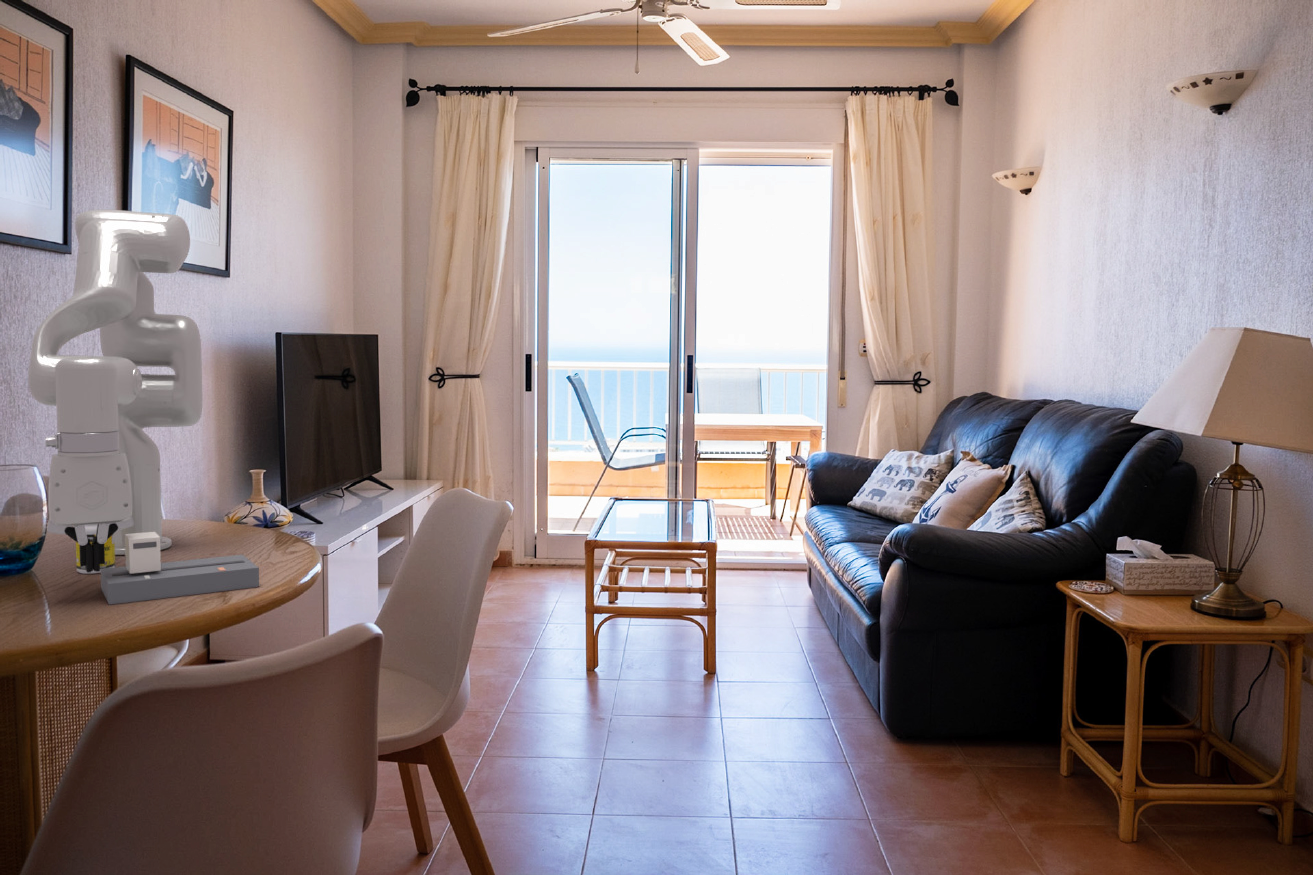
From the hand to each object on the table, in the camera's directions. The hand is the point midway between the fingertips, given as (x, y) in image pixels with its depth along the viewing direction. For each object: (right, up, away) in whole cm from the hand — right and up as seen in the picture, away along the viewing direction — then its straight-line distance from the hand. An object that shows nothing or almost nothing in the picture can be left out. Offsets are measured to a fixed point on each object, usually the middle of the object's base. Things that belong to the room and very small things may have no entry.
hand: (92, 569), depth 134 cm
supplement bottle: (-10, -3, +17) cm, 20 cm away
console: (+9, -4, +7) cm, 12 cm away
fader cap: (+5, 0, +4) cm, 6 cm away
